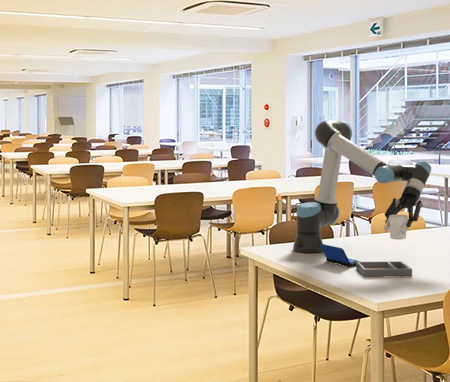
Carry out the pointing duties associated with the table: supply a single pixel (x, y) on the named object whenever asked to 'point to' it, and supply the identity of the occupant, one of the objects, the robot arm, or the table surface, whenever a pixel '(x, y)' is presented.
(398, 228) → the white cup
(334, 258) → the handheld game console
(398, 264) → the walled box
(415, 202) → the robot arm
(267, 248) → the table surface
